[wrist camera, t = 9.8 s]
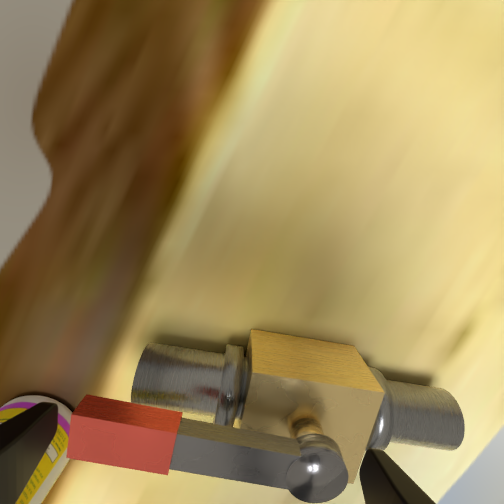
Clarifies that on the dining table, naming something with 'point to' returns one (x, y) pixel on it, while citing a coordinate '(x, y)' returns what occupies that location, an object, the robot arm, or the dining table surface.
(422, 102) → the dining table surface
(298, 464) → the lever
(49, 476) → the supplement bottle
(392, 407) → the valve
